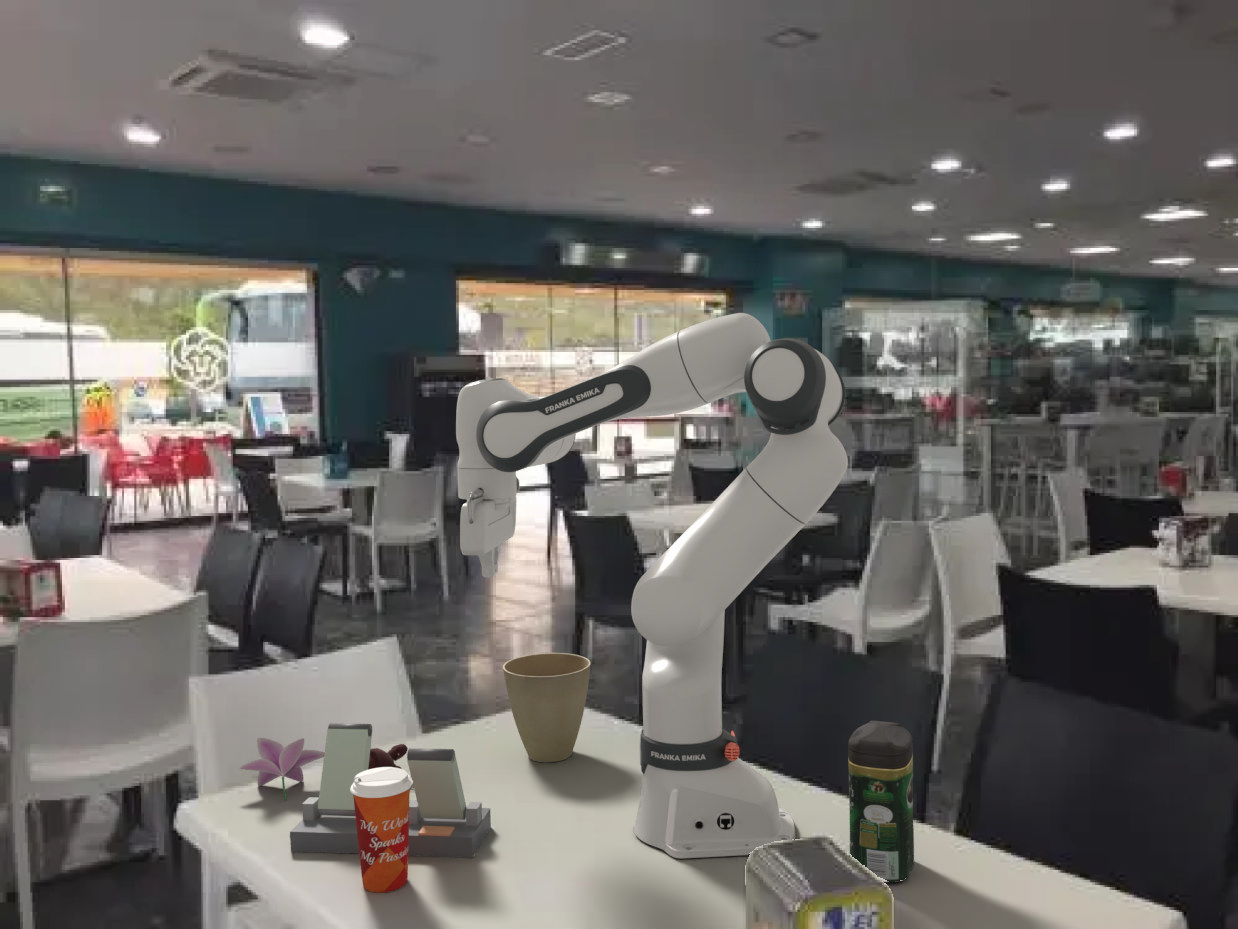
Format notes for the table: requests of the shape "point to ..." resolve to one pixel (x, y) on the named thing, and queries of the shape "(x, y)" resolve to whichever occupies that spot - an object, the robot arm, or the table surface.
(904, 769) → the coffee jar
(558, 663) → the plant pot
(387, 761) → the icecream
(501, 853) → the table surface
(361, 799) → the paper cup
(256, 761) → the lily
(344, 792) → the lever
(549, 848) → the table surface
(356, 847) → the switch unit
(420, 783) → the lever
